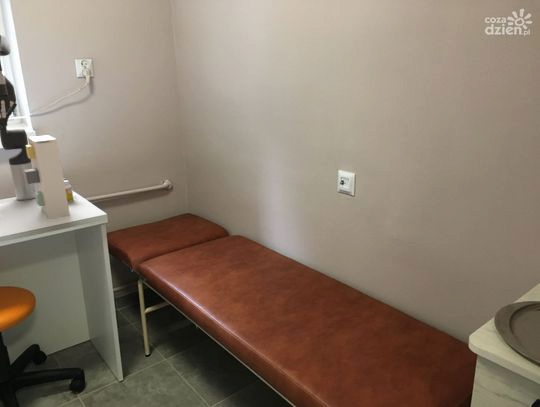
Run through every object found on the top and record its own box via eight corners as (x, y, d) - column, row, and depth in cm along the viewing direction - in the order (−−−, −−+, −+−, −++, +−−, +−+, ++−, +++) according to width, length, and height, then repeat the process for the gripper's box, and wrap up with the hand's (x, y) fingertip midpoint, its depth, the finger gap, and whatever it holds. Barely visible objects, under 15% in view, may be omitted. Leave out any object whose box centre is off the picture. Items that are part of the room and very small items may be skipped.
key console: (41, 209, 194) (27, 137, 185) (60, 205, 199) (48, 135, 189) (49, 218, 180) (34, 141, 171) (69, 214, 185) (56, 139, 175)
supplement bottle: (58, 202, 204) (54, 182, 201) (67, 199, 209) (64, 179, 206) (67, 203, 202) (63, 182, 199) (76, 200, 207) (72, 180, 204)
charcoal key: (25, 181, 183) (23, 169, 181) (42, 178, 186) (40, 167, 185) (28, 184, 178) (25, 172, 177) (45, 181, 182) (43, 169, 180)
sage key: (36, 203, 187) (34, 192, 186) (53, 200, 191) (51, 189, 189) (39, 206, 182) (36, 194, 181) (56, 203, 186) (53, 191, 185)
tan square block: (27, 157, 181) (25, 145, 180) (44, 155, 185) (42, 143, 184) (30, 159, 177) (27, 146, 175) (47, 156, 180) (45, 144, 179)
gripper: (12, 82, 180) (20, 125, 185) (-26, 84, 173) (-16, 128, 178) (14, 82, 174) (23, 126, 179) (-25, 84, 167) (-15, 129, 172)
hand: (3, 127), depth 178 cm, fingers closed
